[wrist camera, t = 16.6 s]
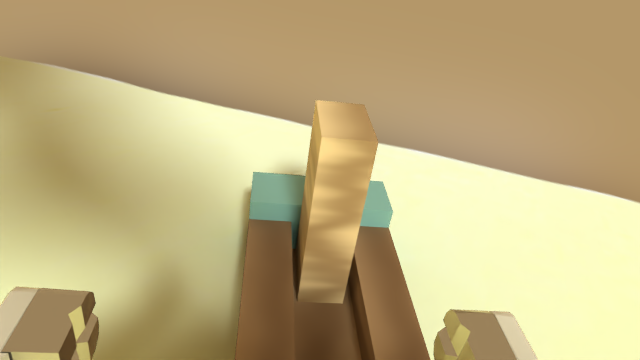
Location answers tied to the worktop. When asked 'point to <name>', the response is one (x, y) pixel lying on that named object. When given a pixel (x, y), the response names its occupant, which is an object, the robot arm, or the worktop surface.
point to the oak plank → (333, 199)
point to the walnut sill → (322, 318)
